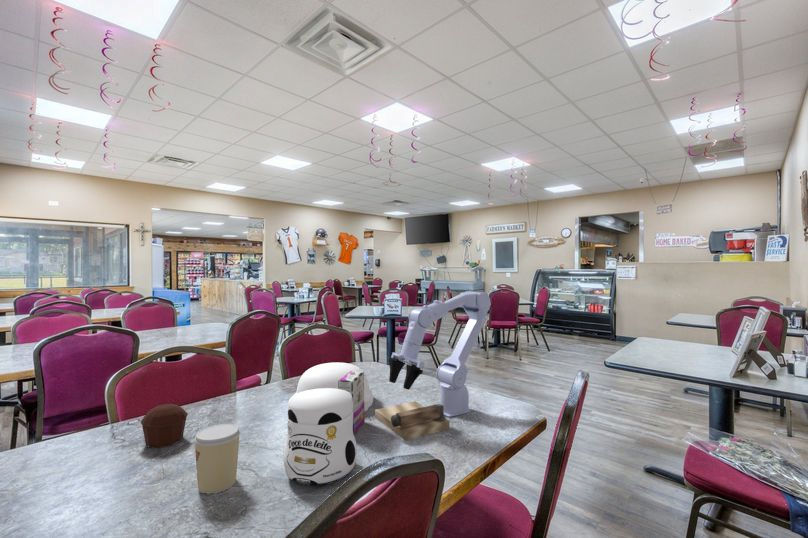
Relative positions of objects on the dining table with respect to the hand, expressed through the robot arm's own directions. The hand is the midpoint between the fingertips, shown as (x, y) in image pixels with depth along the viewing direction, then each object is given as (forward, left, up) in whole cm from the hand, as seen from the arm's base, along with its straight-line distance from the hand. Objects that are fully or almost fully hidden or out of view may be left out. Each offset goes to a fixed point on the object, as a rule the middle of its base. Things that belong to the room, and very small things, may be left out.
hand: (398, 385), depth 115 cm
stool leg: (-3, +7, -9) cm, 12 cm away
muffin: (+63, -25, -13) cm, 70 cm away
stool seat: (-5, 0, -13) cm, 13 cm away
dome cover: (+11, -31, -13) cm, 36 cm away
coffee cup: (+51, +7, -13) cm, 54 cm away
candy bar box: (+13, -6, -13) cm, 20 cm away
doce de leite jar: (+29, +14, -13) cm, 35 cm away
